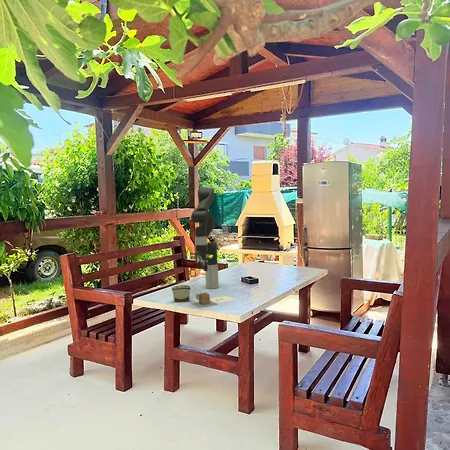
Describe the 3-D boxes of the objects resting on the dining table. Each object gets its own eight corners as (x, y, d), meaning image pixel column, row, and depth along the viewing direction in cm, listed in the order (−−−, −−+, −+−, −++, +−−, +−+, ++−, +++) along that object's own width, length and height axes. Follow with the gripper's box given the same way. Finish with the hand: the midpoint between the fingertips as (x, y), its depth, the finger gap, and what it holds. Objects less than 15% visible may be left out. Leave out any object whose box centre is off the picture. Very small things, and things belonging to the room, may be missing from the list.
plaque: (192, 299, 251) (192, 299, 251) (203, 297, 255) (203, 296, 255) (197, 302, 244) (197, 301, 244) (208, 299, 248) (208, 299, 248)
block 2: (199, 303, 239) (198, 293, 238) (206, 302, 241) (205, 292, 241) (202, 305, 234) (202, 295, 234) (209, 303, 237) (209, 294, 237)
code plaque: (203, 300, 248) (203, 299, 248) (225, 296, 255) (225, 295, 255) (212, 304, 237) (212, 303, 237) (234, 300, 245) (234, 299, 245)
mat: (191, 304, 240) (191, 303, 240) (208, 300, 246) (208, 299, 246) (200, 308, 230) (199, 307, 230) (217, 304, 236) (217, 304, 236)
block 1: (196, 299, 250) (195, 293, 250) (201, 298, 253) (200, 292, 252) (199, 300, 247) (199, 294, 247) (204, 299, 249) (204, 293, 249)
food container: (192, 299, 251) (191, 284, 250) (191, 302, 245) (190, 286, 244) (173, 300, 251) (172, 285, 250) (172, 303, 245) (171, 287, 244)
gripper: (212, 244, 231) (213, 270, 232) (201, 242, 243) (203, 267, 244) (200, 245, 227) (202, 272, 228) (190, 243, 239) (192, 269, 241)
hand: (202, 269), depth 236 cm, fingers open, 8 cm apart
